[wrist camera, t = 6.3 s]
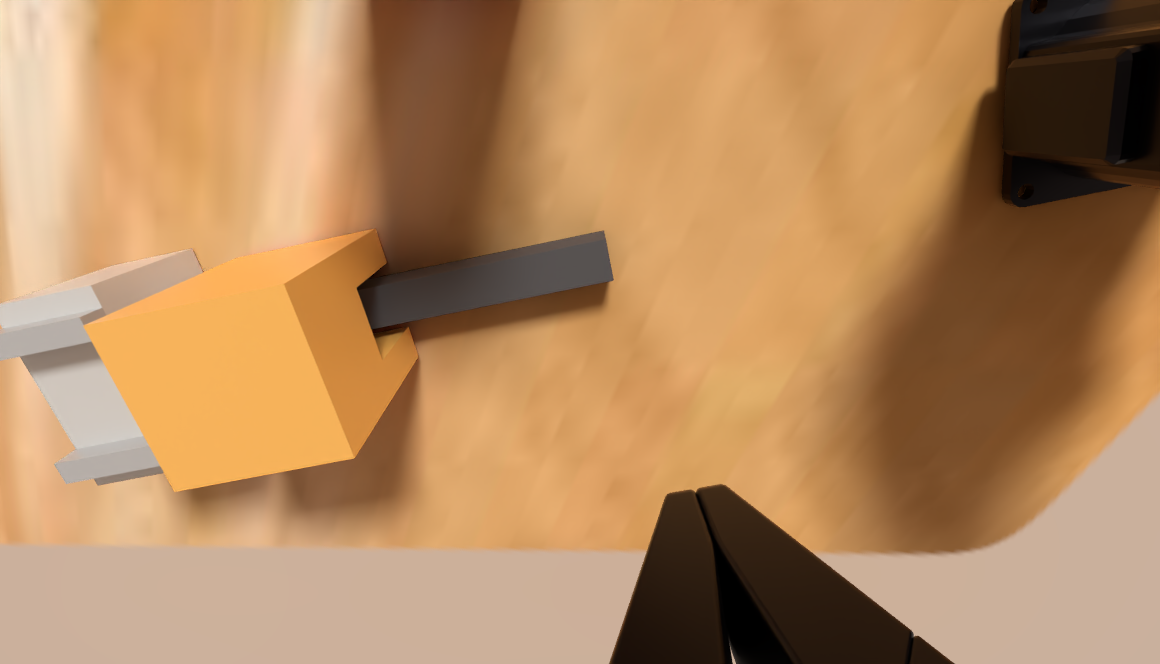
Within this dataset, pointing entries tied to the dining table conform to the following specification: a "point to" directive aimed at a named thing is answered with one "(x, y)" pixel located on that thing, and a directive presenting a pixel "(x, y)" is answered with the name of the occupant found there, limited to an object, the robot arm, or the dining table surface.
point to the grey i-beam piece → (88, 362)
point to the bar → (486, 280)
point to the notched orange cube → (257, 363)
